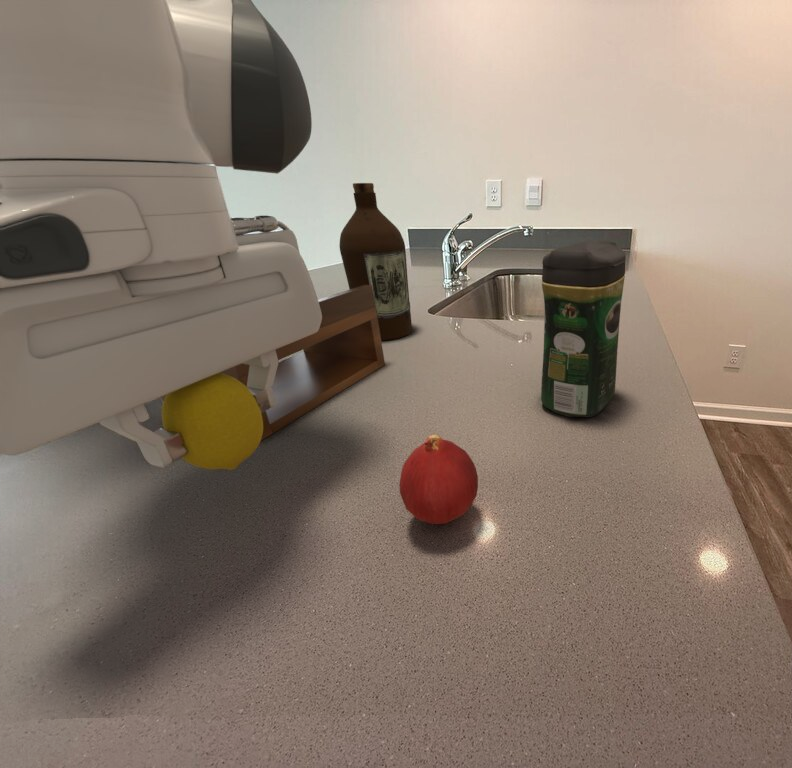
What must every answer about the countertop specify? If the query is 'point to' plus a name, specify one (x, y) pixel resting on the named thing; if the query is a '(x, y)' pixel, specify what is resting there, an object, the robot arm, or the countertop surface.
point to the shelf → (323, 358)
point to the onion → (438, 481)
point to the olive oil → (377, 262)
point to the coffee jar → (581, 326)
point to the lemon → (214, 421)
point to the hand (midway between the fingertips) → (218, 432)
